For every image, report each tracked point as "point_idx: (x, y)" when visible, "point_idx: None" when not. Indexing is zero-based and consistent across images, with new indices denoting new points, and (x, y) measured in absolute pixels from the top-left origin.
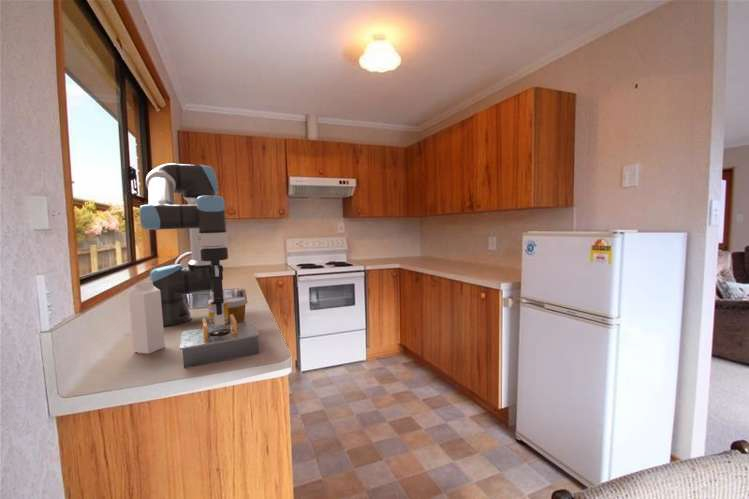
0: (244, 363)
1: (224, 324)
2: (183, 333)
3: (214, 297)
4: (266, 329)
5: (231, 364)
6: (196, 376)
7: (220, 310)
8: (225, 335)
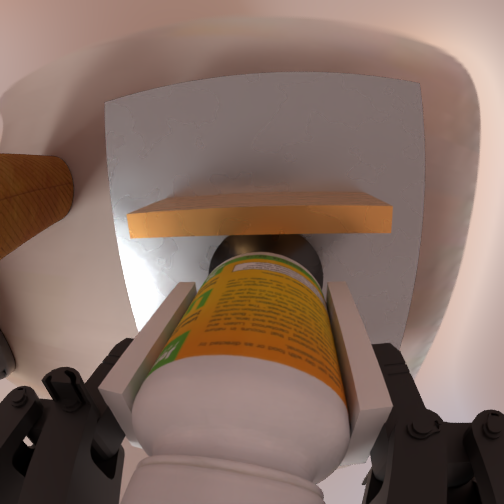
0: (443, 179)
1: (39, 232)
2: None
3: (474, 501)
4: (82, 69)
5: (428, 220)
6: (441, 316)
7: (404, 376)
8: (340, 254)
